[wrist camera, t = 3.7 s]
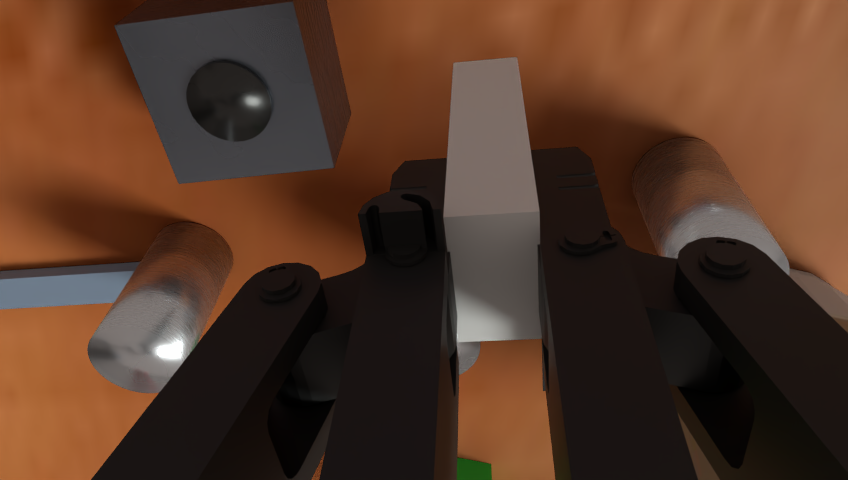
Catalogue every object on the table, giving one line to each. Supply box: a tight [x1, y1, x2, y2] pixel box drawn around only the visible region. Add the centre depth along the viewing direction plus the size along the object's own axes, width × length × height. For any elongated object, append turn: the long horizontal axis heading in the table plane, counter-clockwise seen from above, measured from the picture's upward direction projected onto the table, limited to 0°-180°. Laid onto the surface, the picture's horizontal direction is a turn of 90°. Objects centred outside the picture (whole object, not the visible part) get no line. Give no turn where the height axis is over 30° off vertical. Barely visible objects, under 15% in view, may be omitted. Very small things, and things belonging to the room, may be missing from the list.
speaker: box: [114, 0, 351, 184], centre depth 21 cm, size 5×5×4 cm
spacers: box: [88, 138, 789, 393], centre depth 19 cm, size 22×19×6 cm
